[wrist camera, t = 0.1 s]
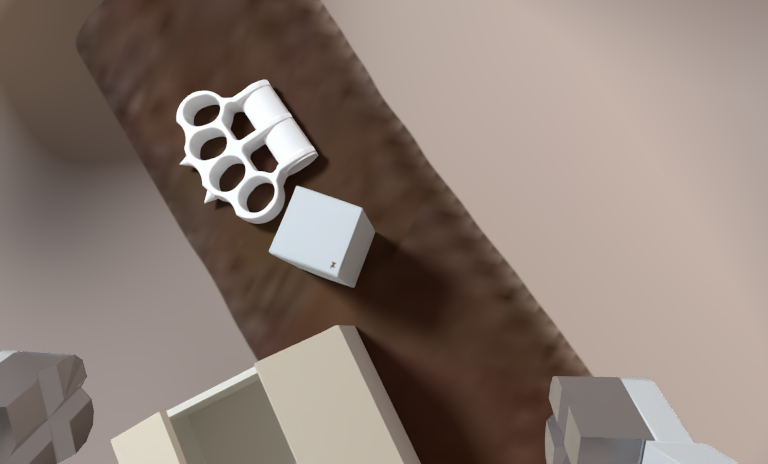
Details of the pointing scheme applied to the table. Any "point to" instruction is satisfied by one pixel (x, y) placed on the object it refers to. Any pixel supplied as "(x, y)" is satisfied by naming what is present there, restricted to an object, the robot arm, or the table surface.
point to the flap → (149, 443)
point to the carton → (264, 418)
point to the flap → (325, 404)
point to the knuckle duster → (246, 145)
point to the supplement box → (324, 236)
